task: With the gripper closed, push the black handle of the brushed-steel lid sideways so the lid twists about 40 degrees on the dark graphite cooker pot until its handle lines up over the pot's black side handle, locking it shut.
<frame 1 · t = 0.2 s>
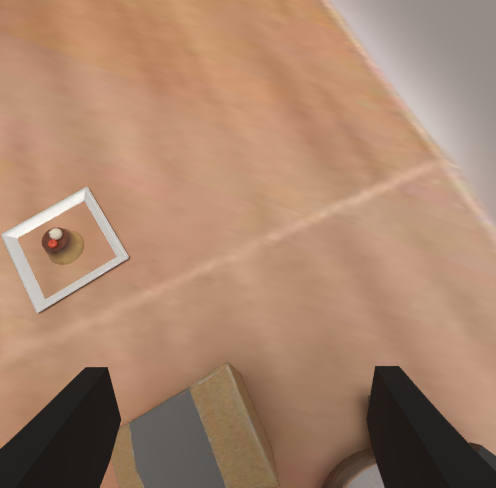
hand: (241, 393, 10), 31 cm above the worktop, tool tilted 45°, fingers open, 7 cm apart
dessert: (68, 249, 47), on the worktop
sandwich container: (187, 441, 38), on the worktop
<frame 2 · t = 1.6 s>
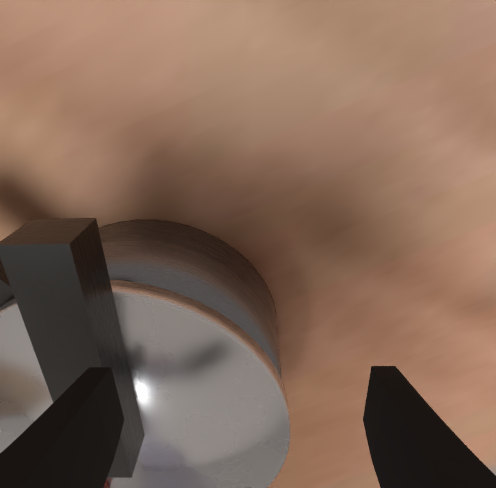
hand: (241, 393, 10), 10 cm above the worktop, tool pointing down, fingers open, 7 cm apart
cooker lid: (112, 420, 15), point 8 cm above the worktop, hinge at -40.0°
cooker pot: (160, 327, 22), on the worktop
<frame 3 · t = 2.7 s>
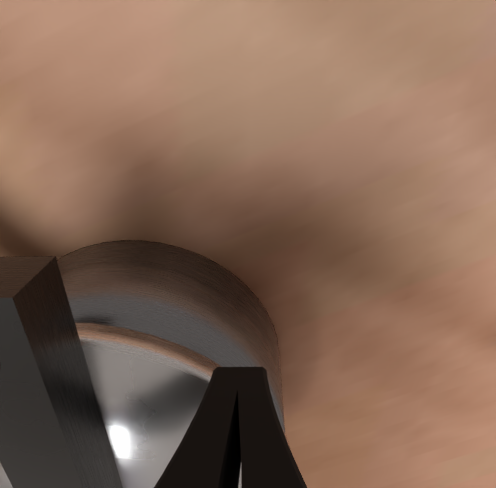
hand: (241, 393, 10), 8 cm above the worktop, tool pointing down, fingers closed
cooker lid: (85, 484, 13), point 8 cm above the worktop, hinge at -40.0°
cooker pot: (149, 356, 20), on the worktop
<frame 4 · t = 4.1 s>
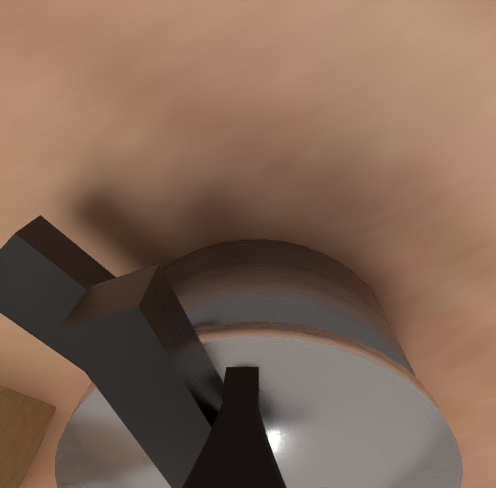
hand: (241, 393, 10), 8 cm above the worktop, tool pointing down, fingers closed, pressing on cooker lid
cooker lid: (242, 487, 13), point 8 cm above the worktop, hinge at -21.7°, touching gripper
cooker pot: (255, 357, 20), on the worktop
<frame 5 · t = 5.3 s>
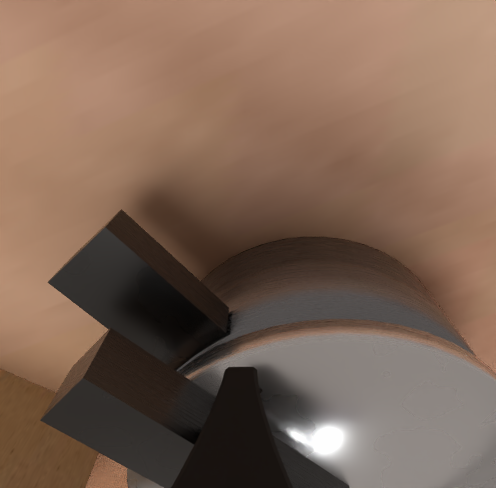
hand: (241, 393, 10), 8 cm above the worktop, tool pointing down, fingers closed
cooker pot: (304, 355, 20), on the worktop
sandwich container: (9, 452, 25), on the worktop
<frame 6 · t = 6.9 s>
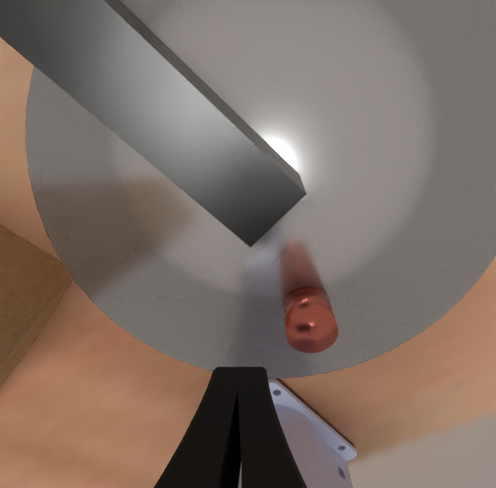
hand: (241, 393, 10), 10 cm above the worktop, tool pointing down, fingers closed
cooker lid: (238, 169, 10), point 8 cm above the worktop, hinge at 5.4°
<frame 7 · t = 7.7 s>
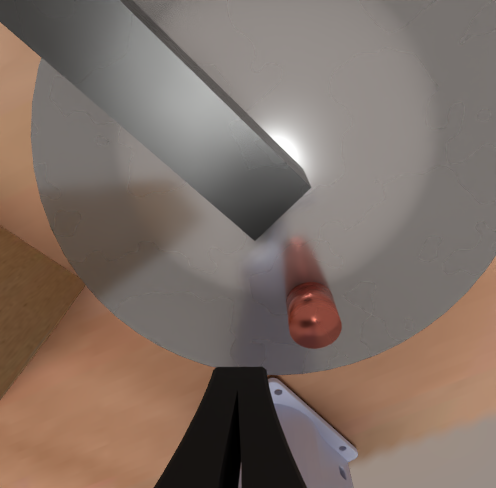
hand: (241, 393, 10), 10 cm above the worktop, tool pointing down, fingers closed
cooker lid: (243, 164, 10), point 8 cm above the worktop, hinge at 5.4°
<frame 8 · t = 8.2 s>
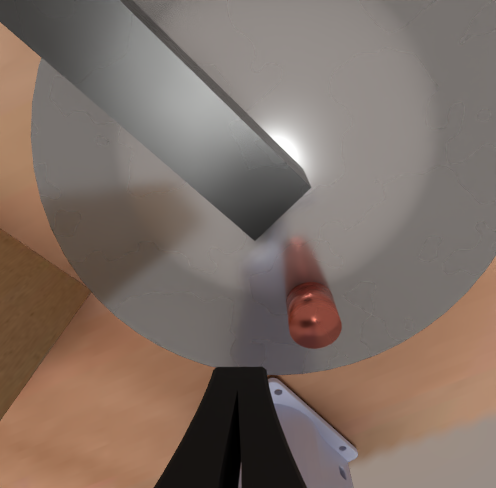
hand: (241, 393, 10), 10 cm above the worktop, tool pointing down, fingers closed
cooker lid: (243, 164, 10), point 8 cm above the worktop, hinge at 5.4°
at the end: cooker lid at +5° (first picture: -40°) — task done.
